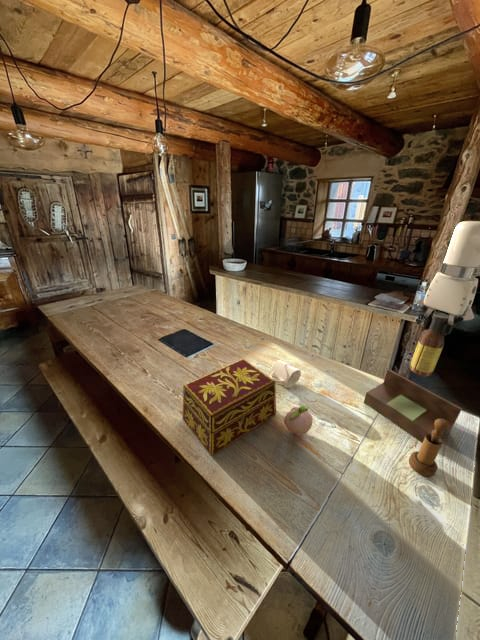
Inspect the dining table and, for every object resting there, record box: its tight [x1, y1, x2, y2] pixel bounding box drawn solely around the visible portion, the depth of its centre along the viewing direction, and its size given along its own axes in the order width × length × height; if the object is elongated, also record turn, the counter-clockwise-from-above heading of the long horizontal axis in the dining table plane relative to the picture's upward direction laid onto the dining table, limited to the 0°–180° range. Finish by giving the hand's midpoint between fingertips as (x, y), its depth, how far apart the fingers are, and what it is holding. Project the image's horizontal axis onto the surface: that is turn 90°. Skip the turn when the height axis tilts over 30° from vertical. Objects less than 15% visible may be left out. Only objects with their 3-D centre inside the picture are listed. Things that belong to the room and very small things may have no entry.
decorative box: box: [181, 358, 277, 457], centre depth 90 cm, size 28×19×15 cm
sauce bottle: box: [409, 311, 449, 377], centre depth 80 cm, size 7×6×20 cm
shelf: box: [363, 368, 463, 444], centre depth 92 cm, size 24×12×11 cm, turn 32°
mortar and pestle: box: [408, 419, 449, 478], centre depth 73 cm, size 7×6×18 cm
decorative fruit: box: [283, 405, 313, 435], centre depth 86 cm, size 9×8×10 cm
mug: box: [269, 359, 302, 389], centre depth 109 cm, size 12×9×8 cm
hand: (435, 331), depth 78 cm, fingers closed on sauce bottle, 4 cm apart
